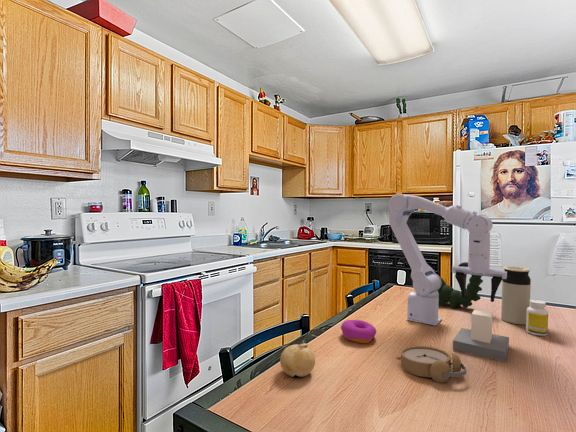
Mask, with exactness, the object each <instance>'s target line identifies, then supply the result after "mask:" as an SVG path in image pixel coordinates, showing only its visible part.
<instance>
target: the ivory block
mask: <svg viewBox="0 0 576 432" xmlns="http://www.w3.org/2000/svg"><path fill="white" fill-rule="evenodd" d="M493 315H494V313H493V312H491V311H483V310H477V309H474V310H473V311H472V312H471V320H470V321H471V322H470V323H471V326H470V327H471V328H470V330H471V339H472V340H477V341H481V342H486V343H490V342H491V339H492V334H493Z"/></svg>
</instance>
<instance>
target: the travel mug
mask: <svg viewBox="0 0 576 432" xmlns="http://www.w3.org/2000/svg"><path fill="white" fill-rule="evenodd" d="M503 269H504V270H503V271H506V272H507V278H506V279H502V281H501V309H500V311H501V312H500V313H501V314H500V319H501V320H502V321H504V322H506V323H509V324H513V325H519V326H520V325H522V326H523V325H526V313H527V308H528V307H530V300H531V287H532V286H531V285H532V284H531V282H532V281H531V280H532V279H531V277H530V275H529V274H530V272H531V269H530V268H527V267H523V266H514V265H513V266H509V265H508V266H506V265H505V266H504V267H503Z"/></svg>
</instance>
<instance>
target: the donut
mask: <svg viewBox="0 0 576 432" xmlns="http://www.w3.org/2000/svg"><path fill="white" fill-rule="evenodd" d="M340 330H341V332H342V333H341V334H342V335H343V337H344V338H345V339H346V340H349V341H351V342H354V343H360V344H368V343H369V342H371V341H372V339H373V338H375V336H376V334H377V329H376V327H375V326H374V325H372V324H371V323H369V322H367V321H366V320H361V319H347V320H344V321H343V322H342V323H341V325H340Z"/></svg>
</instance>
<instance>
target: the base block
mask: <svg viewBox="0 0 576 432" xmlns="http://www.w3.org/2000/svg"><path fill="white" fill-rule="evenodd" d="M509 347H510V337H509V336H505V335H499V334H494V333H492V339H491V342H490V343H486V342H481V341H477V340H472V339H471V328H465V327H461V328H460V329H459V331H458V332H457V334H456V335H455V336H454V338H453V340H452V350H453V351H458V352H460V353H461V352H462V353H467V354H469V355H474V356H478V357H481V358H485V359H486V358H488V359H490V360H496V361H500V362H504V363H505V362H506V361H507V359H506V358H507V355H508V351H509Z"/></svg>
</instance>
